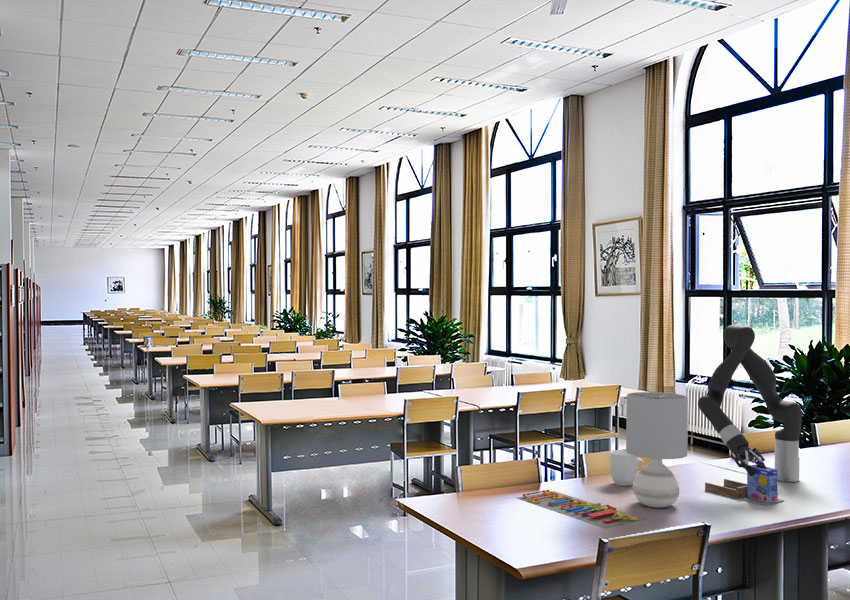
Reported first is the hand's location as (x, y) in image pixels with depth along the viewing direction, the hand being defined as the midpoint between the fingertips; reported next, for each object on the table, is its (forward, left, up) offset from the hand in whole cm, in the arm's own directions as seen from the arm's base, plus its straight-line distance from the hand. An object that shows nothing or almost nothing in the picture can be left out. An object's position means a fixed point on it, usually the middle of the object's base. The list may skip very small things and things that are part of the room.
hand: (760, 473), depth 291 cm
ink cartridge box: (0, +1, -10) cm, 10 cm away
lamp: (+40, -16, -10) cm, 44 cm away
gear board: (+68, -28, -11) cm, 75 cm away
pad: (0, +1, -10) cm, 10 cm away
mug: (+25, -44, -10) cm, 52 cm away
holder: (-1, -14, -10) cm, 17 cm away
